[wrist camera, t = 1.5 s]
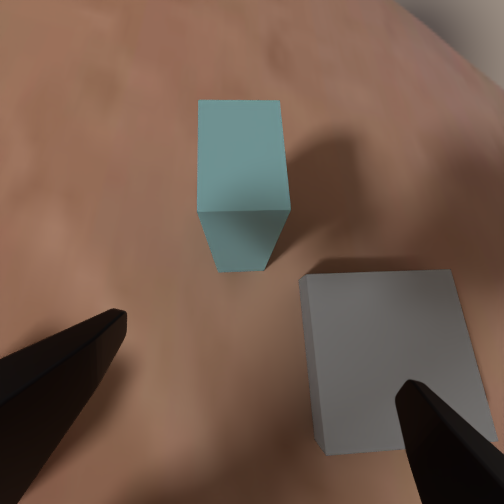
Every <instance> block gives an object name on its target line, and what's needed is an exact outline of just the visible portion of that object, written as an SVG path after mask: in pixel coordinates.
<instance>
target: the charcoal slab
mask: <svg viewBox="0 0 504 504" xmlns="http://www.w3.org/2000/svg"><path fill="white" fill-rule="evenodd" d="M299 289H300V299H301V309H302V319H303V329H304V339H305V348H306V358H307V368H308V378H309V388H310V398H311V408H312V418H313V428H314V438H315V441H316V442H317V443H318V445H319V446H320V448H321V449H322V451H323V452H324V453H325V455H326V456H329V455H341V454H353V453H365V452H377V451H389V450H400V449H405V445H404V441H403V436H402V432H401V428H400V423H399V419H398V414H397V410H396V406H395V396H396V394H397V392H398V391H399V390H400V388H401V387H402V385H403V384H404V383H405V381H406V380H408V379H412V380H417V381H421V382H423V383H424V384H425V385H427V386H428V387H429V388H430V389H431V390H432V391H433V392H434V393H436V394H437V395H438V396H439V397H440V398H441V399H442V400H443V401H445V402H446V403H447V404H448V405H449V406H450V407H451V408H452V409H453V410H455V411H456V412H457V413H458V414H459V415H460V416H461V417H462V418H464V419H465V420H466V421H467V422H468V423H469V424H470V425H471V426H472V427H474V428H475V429H476V430H477V431H478V432H479V433H480V434H481V435H483V436H484V437H485V438H486V439H487V440H488V441H489V442H495V441H498V438H497V434H496V431H495V427H494V424H493V420H492V416H491V413H490V409H489V406H488V402H487V398H486V395H485V391H484V388H483V384H482V380H481V377H480V373H479V370H478V366H477V362H476V359H475V355H474V352H473V348H472V344H471V341H470V337H469V334H468V330H467V326H466V323H465V319H464V316H463V312H462V308H461V305H460V301H459V298H458V294H457V290H456V287H455V283H454V279H453V276H452V272H451V269H441V270H413V271H384V272H355V273H327V274H306V275H305V276H303V277H302V278H301V279H299Z"/></svg>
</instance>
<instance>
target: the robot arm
mask: <svg viewBox="0 0 504 504" xmlns="http://www.w3.org/2000/svg"><path fill="white" fill-rule="evenodd" d="M126 332H127V312H126V311H123V310H119V309H115V308H113V309H110V310H107V311H105V312H103V313H101V314H99V315H96V316H94V317H92V318H90V319H88V320H85V321H83V322H81V323H79V324H76V325H74V326H72V327H70V328H68V329H65V330H63V331H61V332H59V333H56V334H54V335H52V336H50V337H48V338H45V339H43V340H41V341H39V342H37V343H34V344H32V345H30V346H28V347H25V348H23V349H21V350H19V351H17V352H14V353H12V354H10V355H8V356H5V357H3V358H1V359H0V504H17V503H18V502H19V500H20V499H21V497H22V496H23V495H24V493H25V492H26V490H27V489H28V487H29V486H30V484H31V483H32V481H33V480H34V479H35V477H36V476H37V474H38V473H39V471H40V470H41V468H42V467H43V466H44V464H45V463H46V461H47V460H48V458H49V457H50V455H51V454H52V452H53V451H54V450H55V448H56V447H57V445H58V444H59V442H60V441H61V439H62V438H63V437H64V435H65V434H66V432H67V431H68V429H69V428H70V426H71V425H72V424H73V422H74V421H75V419H76V418H77V416H78V415H79V413H80V412H81V410H82V409H83V408H84V406H85V405H86V403H87V402H88V400H89V399H90V397H91V396H92V394H93V393H94V391H95V390H96V388H97V387H98V385H99V383H100V382H101V380H102V378H103V377H104V375H105V373H106V371H107V369H108V367H109V366H110V364H111V362H112V360H113V358H114V357H115V355H116V353H117V351H118V349H119V348H120V346H121V344H122V342H123V340H124V338H125V336H126ZM395 406H396V410H397V414H398V419H399V423H400V428H401V432H402V436H403V441H404V445H405V449H406V453H407V457H408V461H409V464H410V467H411V471H412V474H413V477H414V480H415V483H416V486H417V489H418V493H419V496H420V499H421V502H422V504H504V454H503V453H502V452H500V451H499V450H498V449H497V448H496V447H495V446H494V445H493V444H491V443H490V442H489V441H488V440H487V439H486V438H485V437H484V436H483V435H481V434H480V433H479V432H478V431H477V430H476V429H475V428H474V427H472V426H471V425H470V424H469V423H468V422H467V421H466V420H465V419H464V418H462V417H461V416H460V415H459V414H458V413H457V412H456V411H455V410H453V409H452V408H451V407H450V406H449V405H448V404H447V403H446V402H445V401H443V400H442V399H441V398H440V397H439V396H438V395H437V394H436V393H434V392H433V391H432V390H431V389H430V388H429V387H428V386H427V385H425V384H424V383H423V382H421V381H417V380H412V379H408V380H406V381H405V383H404V384H403V385H402V387H401V388H400V390H399V391H398V392H397V394H396V396H395Z"/></svg>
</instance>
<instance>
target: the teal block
mask: <svg viewBox="0 0 504 504" xmlns="http://www.w3.org/2000/svg"><path fill="white" fill-rule="evenodd" d="M290 211H291V205H290V196H289V186H288V176H287V167H286V157H285V148H284V138H283V129H282V119H281V109H280V100H198V178H197V213H198V216H199V219H200V222H201V225H202V227H203V230H204V233H205V236H206V239H207V242H208V244H209V247H210V250H211V253H212V256H213V259H214V261H215V264H216V267H217V270H218V272H241V271H264V269H265V267H266V265H267V262H268V260H269V258H270V256H271V253H272V251H273V249H274V247H275V244H276V242H277V240H278V238H279V235H280V233H281V231H282V229H283V227H284V224H285V222H286V220H287V218H288V215H289V213H290Z"/></svg>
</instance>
